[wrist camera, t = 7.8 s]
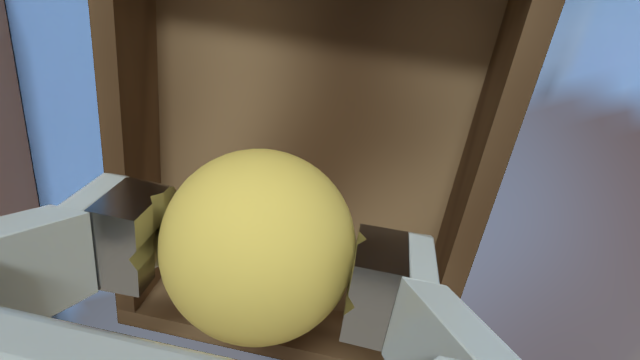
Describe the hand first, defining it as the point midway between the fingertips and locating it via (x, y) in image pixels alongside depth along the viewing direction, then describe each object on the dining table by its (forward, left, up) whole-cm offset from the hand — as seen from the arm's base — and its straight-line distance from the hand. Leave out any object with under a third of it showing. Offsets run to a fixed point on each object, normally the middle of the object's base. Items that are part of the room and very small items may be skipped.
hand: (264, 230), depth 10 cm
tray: (0, 0, -5) cm, 5 cm away
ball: (0, 0, 0) cm, 0 cm away
